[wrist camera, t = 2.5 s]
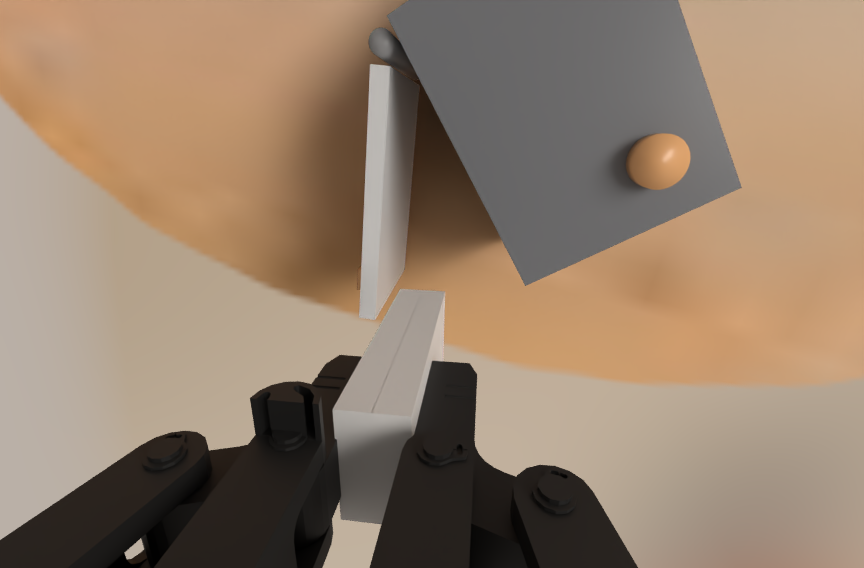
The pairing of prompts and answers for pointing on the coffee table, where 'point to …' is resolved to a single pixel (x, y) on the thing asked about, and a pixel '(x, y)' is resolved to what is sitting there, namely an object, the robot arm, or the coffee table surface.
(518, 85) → the camera body
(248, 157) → the coffee table surface
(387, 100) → the side door
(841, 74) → the coffee table surface
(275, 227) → the coffee table surface
